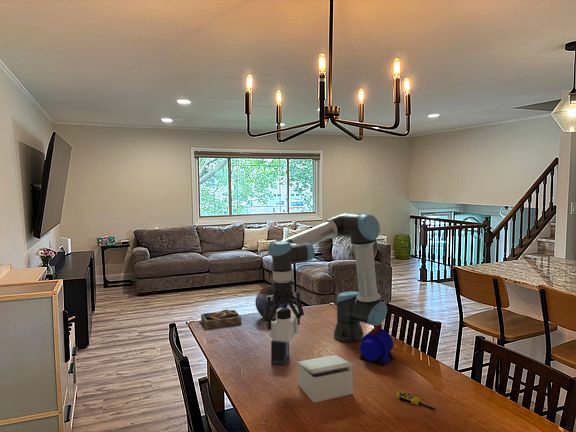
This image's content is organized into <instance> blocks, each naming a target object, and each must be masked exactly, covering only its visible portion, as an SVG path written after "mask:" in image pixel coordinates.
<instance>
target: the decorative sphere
mask: <svg viewBox="0 0 576 432" xmlns="http://www.w3.org/2000/svg"><path fill="white" fill-rule="evenodd" d="M266 295H268V296H270V295H273V284H267V285H265V286H263V287H262V288H260V289H259V291H258V292H257V294H256V297H255V308H256V310H257V312H258V313H259V315H260V316H261V318H262V317H263V313H264V308H265V304H266ZM274 301H275V300H274V298H273V299H272V301H271V305H270V309H269V313H270V311H271V309H272V306H273V303H274ZM288 306H289V304H281V305H279V307H278V308H277V309H279V308H288ZM268 315H269V314H268ZM273 320H276V312H275V315H274V317H273V319H272V321H273Z"/></svg>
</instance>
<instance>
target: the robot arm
mask: <svg viewBox="0 0 576 432" xmlns="http://www.w3.org/2000/svg"><path fill="white" fill-rule="evenodd" d="M380 231H381V225H380V222H379V220H378V218H377V217H376V216H374V215H373V214H367V213H356V212H355V213H353V212H345V213H340V214H337V215H335V216H333V217H329V218H327V219H325V220H324V221H323V223H321V224H319V225H316V226H314V227H312V228H309V229H306V230H303V231H302V232H300V233H297V234H294V235H292V236H290V237H287V238H285V239H282V240H272V241H271V242H269V244H268V247H267V253H268V255H269V256H270V257H271V260H272V261H271V262H272V263H271V264H272V280H273V282H272V285H273V295H270V296H268V295H266V304H265V308H264V313H263V317H262V316H261V318H262V320H263V321H264V322H266V328H267V330H269V337H270V338H271V339H273V338H274V330H273V322H274V321H273V320H274V319H273V317H274V315H275V312H276V310H277V308H278V307H279V305H281V304H288V306H289V309H290V310H291V311H292V313H293V315H294V316H293V318H292V319H294V320H295V335H298V334H299V326H300V325H301V323H300V321H301V318H302V316H304V315H305V312H304V309H303V305H302V302H301V299H300V298H301V297H300V295H301V294H300V292H299V291H297V290H296V291H293V282H292V279H293V275H292V271H293V270H292V267H293V266H292V265H294V264H300V263H307V262H309V261H312V260H314V259H315V255H316V250H315V248H314V246H315V245H317V244H319V243H322V242H324V241H325V240H328V239H331V240H332V239H335V238H339V237H341V238H342V237H345V238H346V237H347V238H350V244H351V245H352V246H354V256H355V257H354V258H355V265H356V274H357V287H358V291H343V292H340V293H338V295H337V296H336V324H335V326H334V327H335V328H334V330H333V338H334V339H335V340H336V341H339V342H344V343H356V342H357V343H358V342H360V341H361V342H362V339H363V337H364V331H363V328H362V325H361V323H364V324H367V325H370V326H375V327H377V326H378V325H381V324H382V323H383V322H384V321H385V319H386V317H387V313H388V306H387V304H386V303H385V302H383V301H382V296H381V294H380V293H378V288H377V287H378V286H377V276H376V266H375V256H374V254H375V253H374V244H375V243H376V240H377V239H378V237H379V235H380V233H381V232H380ZM273 298H274V300H275V301H274V303H273V306H272V309H271V311H270V313H269V309H270V305H271V301H272V299H273ZM293 298H294V301H295V304H296V307H295V305H294V303H293V301H292V299H293ZM268 314H269V315H268ZM272 319H273V320H272Z"/></svg>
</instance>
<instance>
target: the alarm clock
mask: <svg viewBox="0 0 576 432" xmlns="http://www.w3.org/2000/svg"><path fill="white" fill-rule="evenodd" d="M393 349H394V340H393V338H392V336H391V335H390V333H389V332H388V331H386V330H385V329H383V326H382V325H381V324H380V325H377V326H375V327H374V328H372V329H371V330H370V331H369V332H368V333H366V334H365V335H363V339H362V340H361V343H360V346H359V350H360V353H361V355H360V357H359V360H361V359H366V360H367V361H369V362H376V363H377V364H378V365H380V366H382V367H385V366H386V365H388V364H389V363H391V362H392V361H394V360H395V359H394V356H393V354H392V352H391V351H393Z"/></svg>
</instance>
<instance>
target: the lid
mask: <svg viewBox="0 0 576 432" xmlns="http://www.w3.org/2000/svg"><path fill="white" fill-rule="evenodd" d="M298 364H299V365H300V366H302V367H303V368H305V369H306V370H308V371H309V372H311V373H312V374H315V373H320V372H325V371H331V370H336V369H341V368H346V367H348V368H350V367H354V364H353V363H352V362H349V361H347V360H345V359H344V358H342V357H340V356H338V355H337V354H333V355H329V356H323V357H316V358H312V359H306V360H301V361H297V365H298Z"/></svg>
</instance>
